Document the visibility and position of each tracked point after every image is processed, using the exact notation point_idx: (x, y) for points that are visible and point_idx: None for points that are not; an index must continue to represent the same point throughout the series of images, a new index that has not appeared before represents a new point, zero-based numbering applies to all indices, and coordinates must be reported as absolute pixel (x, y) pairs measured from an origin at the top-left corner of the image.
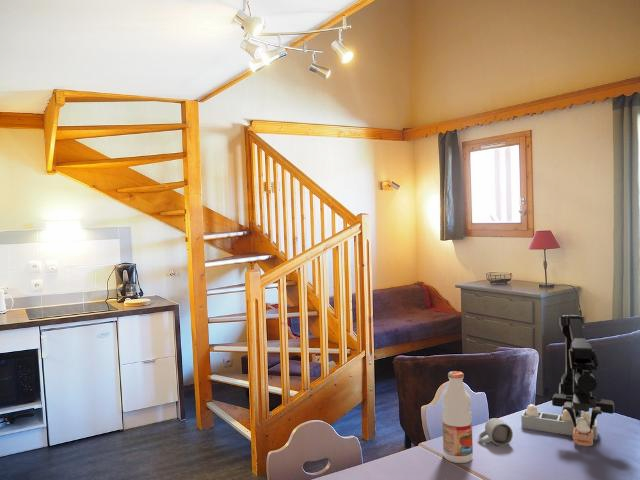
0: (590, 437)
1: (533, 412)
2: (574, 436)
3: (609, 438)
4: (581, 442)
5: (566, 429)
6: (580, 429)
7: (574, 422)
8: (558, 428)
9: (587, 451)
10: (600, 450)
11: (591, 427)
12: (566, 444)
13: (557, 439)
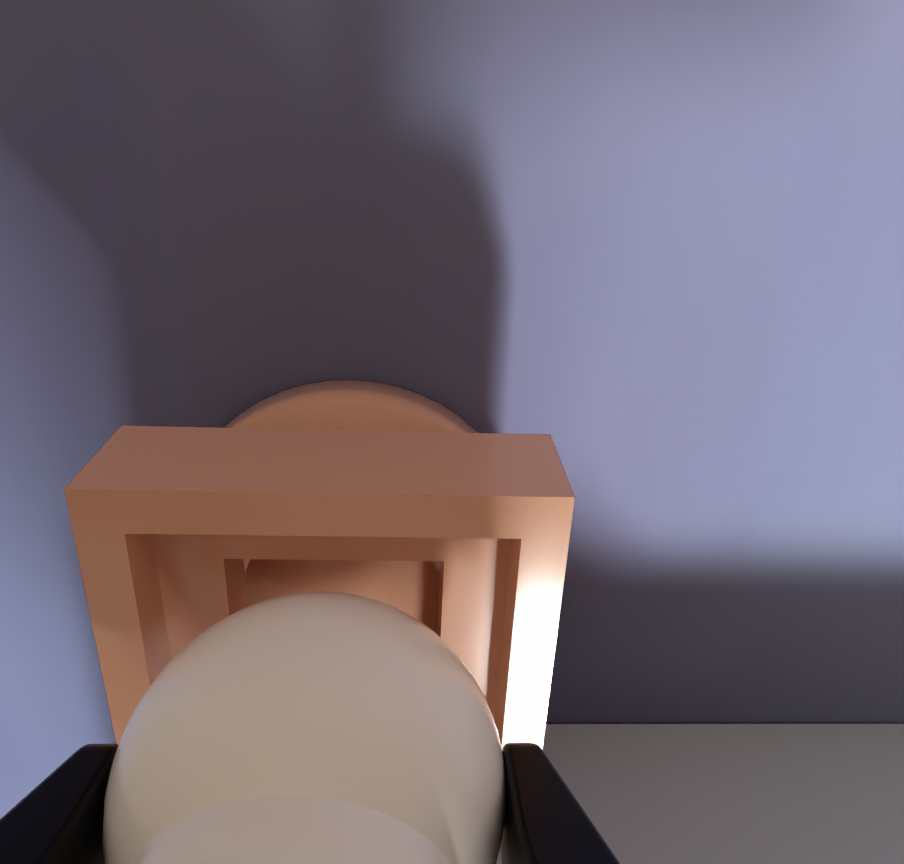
0: (131, 475)
1: None
2: (520, 458)
3: None
4: (371, 428)
5: (647, 802)
6: (372, 634)
7: (566, 860)
8: (779, 797)
9: (231, 131)
10: (5, 303)
11: (46, 789)
12: (649, 336)
13: (791, 500)
